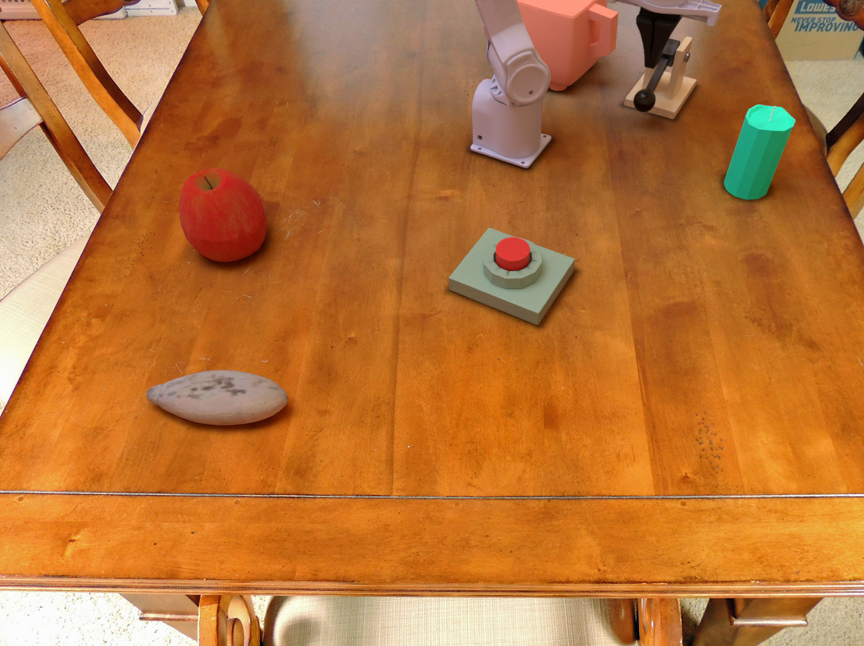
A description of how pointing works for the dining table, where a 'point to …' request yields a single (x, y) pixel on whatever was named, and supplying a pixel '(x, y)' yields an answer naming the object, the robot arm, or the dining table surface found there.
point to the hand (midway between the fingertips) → (651, 64)
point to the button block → (512, 278)
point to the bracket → (668, 84)
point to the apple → (222, 215)
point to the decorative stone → (220, 397)
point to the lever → (656, 78)
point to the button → (512, 254)
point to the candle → (758, 151)
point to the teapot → (569, 35)
